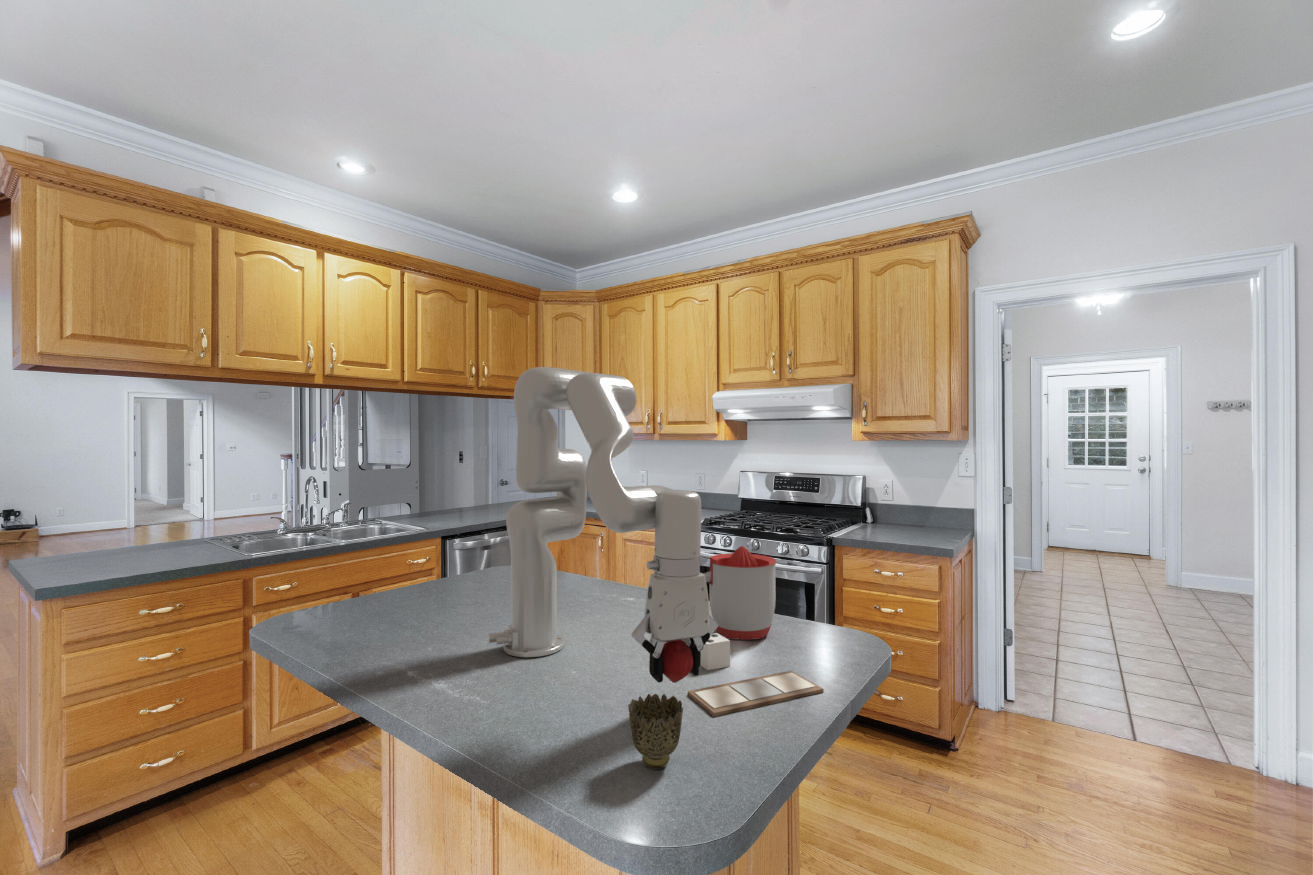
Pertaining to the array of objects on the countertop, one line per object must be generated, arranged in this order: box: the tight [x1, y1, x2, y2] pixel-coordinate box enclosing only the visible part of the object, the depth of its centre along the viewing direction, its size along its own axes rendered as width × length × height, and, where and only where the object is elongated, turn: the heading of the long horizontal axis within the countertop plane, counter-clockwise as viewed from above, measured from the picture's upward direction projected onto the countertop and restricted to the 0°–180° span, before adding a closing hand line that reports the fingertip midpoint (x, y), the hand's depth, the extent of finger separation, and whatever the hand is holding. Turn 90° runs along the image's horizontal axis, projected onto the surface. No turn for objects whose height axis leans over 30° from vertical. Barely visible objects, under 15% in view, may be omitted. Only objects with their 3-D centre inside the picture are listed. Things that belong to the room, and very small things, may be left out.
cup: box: [627, 693, 684, 770], centre depth 78 cm, size 8×7×8 cm
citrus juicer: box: [703, 545, 778, 641], centre depth 133 cm, size 16×17×20 cm
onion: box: [661, 639, 693, 684], centre depth 95 cm, size 6×6×8 cm
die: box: [700, 632, 731, 671], centre depth 114 cm, size 5×5×5 cm
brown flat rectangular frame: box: [687, 670, 825, 717], centre depth 100 cm, size 22×9×1 cm, turn 114°
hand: (674, 674), depth 95 cm, fingers closed on onion, 5 cm apart
